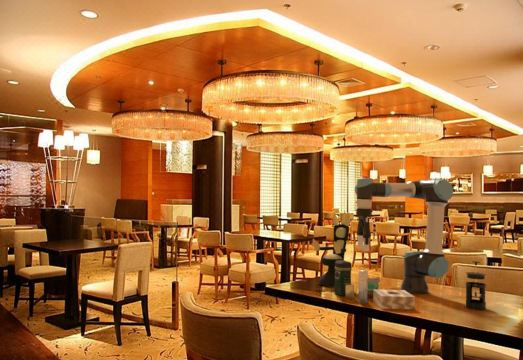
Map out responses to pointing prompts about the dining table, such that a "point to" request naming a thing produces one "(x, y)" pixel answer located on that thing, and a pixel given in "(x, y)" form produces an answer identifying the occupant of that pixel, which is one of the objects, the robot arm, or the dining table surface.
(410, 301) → the tissue box
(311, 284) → the dining table surface
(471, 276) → the french press
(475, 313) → the dining table surface
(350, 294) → the brass pin
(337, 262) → the coffee jar
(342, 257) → the dark tall irregular piece
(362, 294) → the steel pin
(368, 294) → the food container
